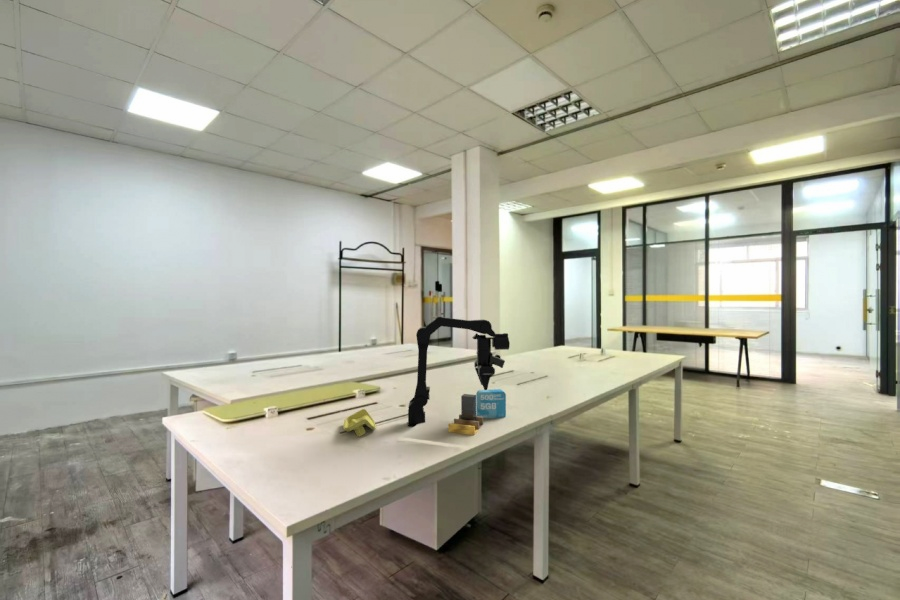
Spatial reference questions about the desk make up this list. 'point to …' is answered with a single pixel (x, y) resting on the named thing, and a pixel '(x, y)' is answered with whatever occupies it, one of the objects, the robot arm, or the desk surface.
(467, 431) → the rack
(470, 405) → the block
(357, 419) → the plastic component
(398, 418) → the desk surface
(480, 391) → the data package
